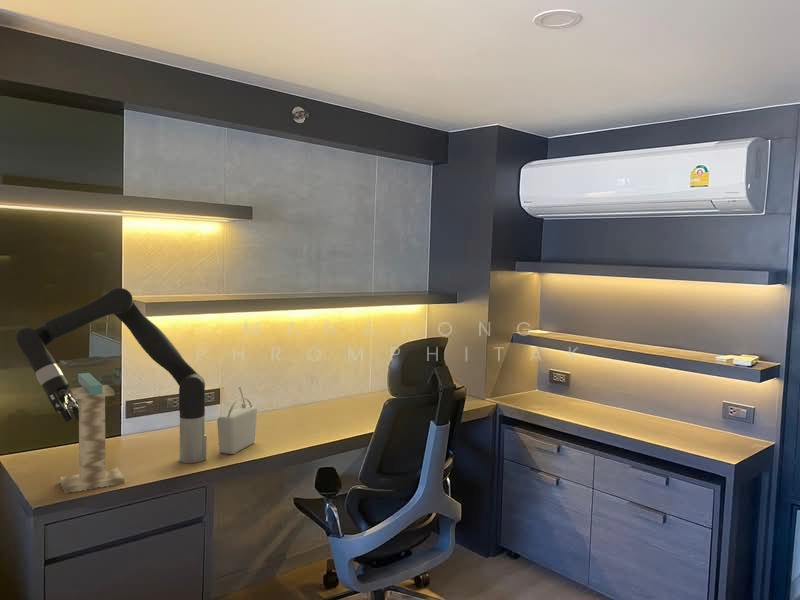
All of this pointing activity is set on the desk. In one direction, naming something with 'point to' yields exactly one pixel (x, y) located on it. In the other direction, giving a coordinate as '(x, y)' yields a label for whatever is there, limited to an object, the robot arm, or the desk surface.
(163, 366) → the robot arm
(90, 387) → the bar
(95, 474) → the stand
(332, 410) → the desk surface
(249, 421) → the white handbag
